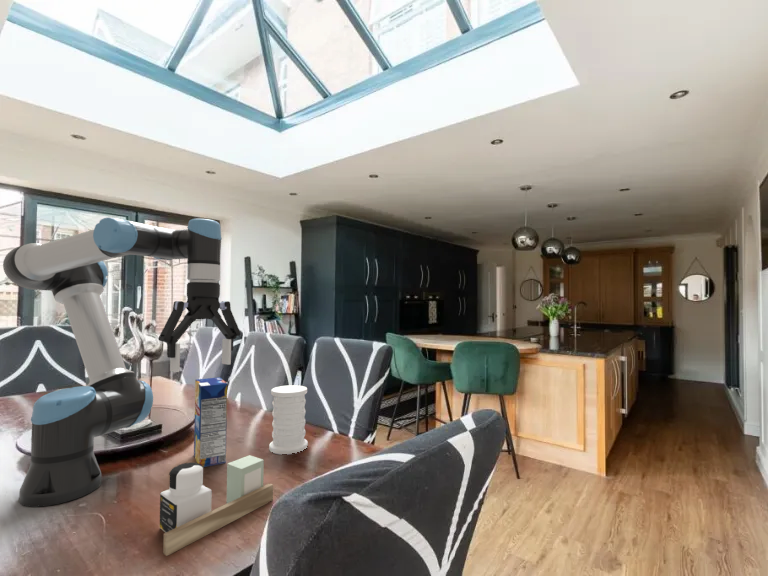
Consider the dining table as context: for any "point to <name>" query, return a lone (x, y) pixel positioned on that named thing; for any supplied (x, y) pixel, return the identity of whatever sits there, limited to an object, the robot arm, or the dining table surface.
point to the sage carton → (244, 476)
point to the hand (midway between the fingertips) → (202, 367)
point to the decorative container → (288, 419)
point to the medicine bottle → (184, 497)
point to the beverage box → (210, 421)
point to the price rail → (215, 519)
